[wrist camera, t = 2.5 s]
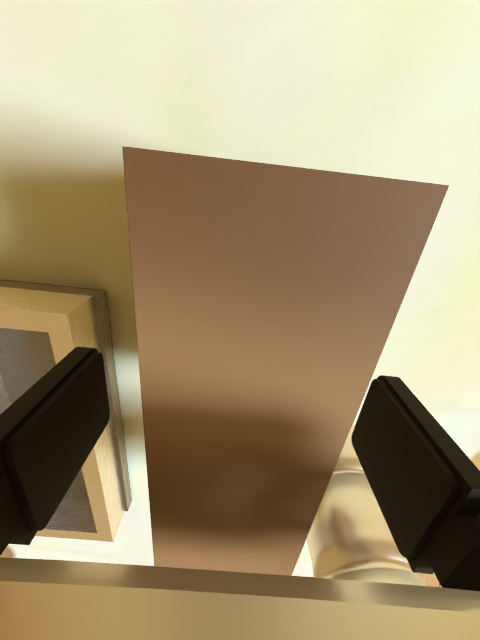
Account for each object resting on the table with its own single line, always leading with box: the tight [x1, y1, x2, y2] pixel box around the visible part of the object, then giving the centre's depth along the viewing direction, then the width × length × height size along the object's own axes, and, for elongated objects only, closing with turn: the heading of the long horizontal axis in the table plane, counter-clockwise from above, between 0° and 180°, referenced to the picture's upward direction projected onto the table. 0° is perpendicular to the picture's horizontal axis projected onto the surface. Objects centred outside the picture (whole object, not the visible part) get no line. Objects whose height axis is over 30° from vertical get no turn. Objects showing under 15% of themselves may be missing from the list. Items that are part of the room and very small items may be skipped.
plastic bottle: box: [307, 426, 428, 586], centre depth 13 cm, size 6×7×20 cm
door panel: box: [122, 146, 449, 576], centre depth 11 cm, size 12×4×12 cm, turn 174°
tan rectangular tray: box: [0, 280, 132, 542], centre depth 20 cm, size 22×9×4 cm, turn 174°
